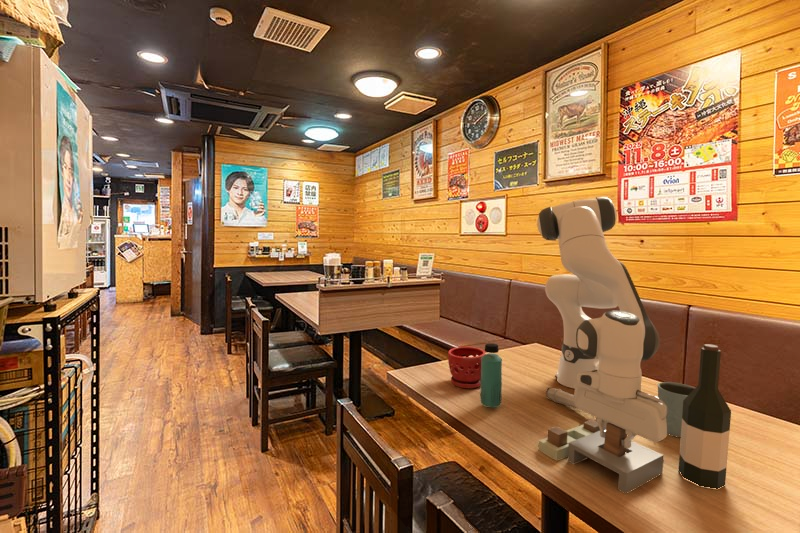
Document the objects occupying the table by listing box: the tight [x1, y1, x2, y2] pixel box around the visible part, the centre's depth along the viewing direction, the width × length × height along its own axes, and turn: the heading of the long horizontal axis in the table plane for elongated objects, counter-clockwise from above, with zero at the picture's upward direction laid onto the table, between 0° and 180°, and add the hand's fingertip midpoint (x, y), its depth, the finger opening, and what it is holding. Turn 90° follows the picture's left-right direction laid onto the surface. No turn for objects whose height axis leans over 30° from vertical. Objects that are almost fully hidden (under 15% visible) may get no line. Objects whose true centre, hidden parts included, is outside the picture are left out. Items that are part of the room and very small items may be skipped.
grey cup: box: [657, 381, 696, 438], centre depth 111 cm, size 10×10×12 cm
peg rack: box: [538, 423, 593, 462], centre depth 103 cm, size 21×5×2 cm, turn 120°
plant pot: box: [447, 346, 486, 390], centre depth 144 cm, size 13×13×12 cm
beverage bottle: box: [479, 342, 503, 408], centre depth 124 cm, size 6×7×20 cm
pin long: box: [604, 423, 628, 457], centre depth 93 cm, size 3×3×9 cm
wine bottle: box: [678, 343, 732, 490], centre depth 88 cm, size 8×8×30 cm
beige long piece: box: [545, 387, 609, 424], centre depth 121 cm, size 5×7×25 cm
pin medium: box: [547, 426, 568, 448], centre depth 100 cm, size 3×3×6 cm
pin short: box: [583, 419, 600, 433], centre depth 107 cm, size 3×3×4 cm
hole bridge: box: [567, 431, 664, 494], centre depth 93 cm, size 14×14×4 cm
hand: (615, 442), depth 93 cm, fingers open, 3 cm apart
